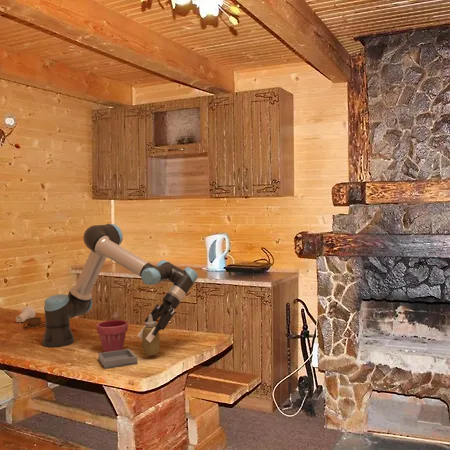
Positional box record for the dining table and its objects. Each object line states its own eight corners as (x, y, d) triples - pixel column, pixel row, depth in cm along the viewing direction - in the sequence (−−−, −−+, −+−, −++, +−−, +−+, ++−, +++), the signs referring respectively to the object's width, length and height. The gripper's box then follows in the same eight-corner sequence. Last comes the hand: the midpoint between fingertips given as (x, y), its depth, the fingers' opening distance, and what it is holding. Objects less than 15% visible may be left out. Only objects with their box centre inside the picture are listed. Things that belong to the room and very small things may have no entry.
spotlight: (38, 316, 320) (33, 304, 318) (27, 325, 309) (22, 312, 307) (26, 318, 322) (22, 306, 320) (15, 327, 311) (11, 314, 309)
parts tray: (98, 359, 235) (98, 353, 235) (129, 355, 241) (129, 348, 240) (104, 368, 222) (104, 361, 222) (137, 363, 228) (137, 357, 228)
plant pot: (92, 353, 245) (90, 326, 244) (106, 345, 258) (105, 319, 258) (120, 355, 241) (119, 327, 240) (133, 346, 254) (132, 320, 254)
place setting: (41, 322, 313) (41, 312, 312) (63, 326, 301) (63, 316, 301) (15, 329, 298) (14, 318, 298) (37, 333, 287) (36, 322, 287)
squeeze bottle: (142, 351, 240) (141, 312, 239) (160, 350, 241) (159, 311, 240) (141, 357, 232) (140, 316, 231) (160, 356, 233) (159, 315, 232)
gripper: (190, 305, 237) (160, 348, 228) (167, 299, 252) (138, 339, 243) (180, 295, 234) (149, 338, 224) (157, 289, 249) (127, 330, 240)
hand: (143, 339), depth 234 cm, fingers closed on squeeze bottle, 6 cm apart
